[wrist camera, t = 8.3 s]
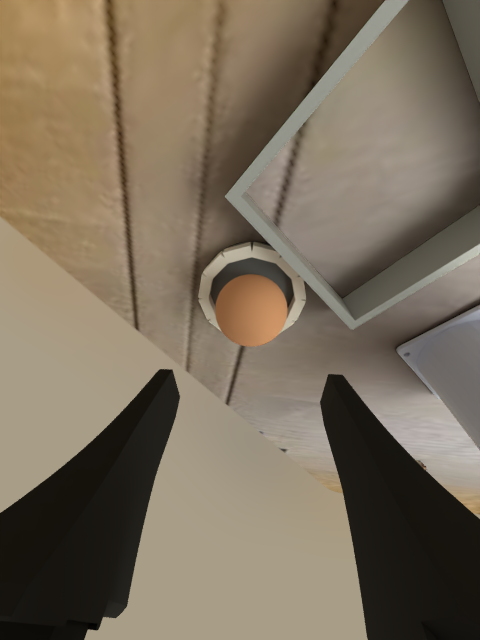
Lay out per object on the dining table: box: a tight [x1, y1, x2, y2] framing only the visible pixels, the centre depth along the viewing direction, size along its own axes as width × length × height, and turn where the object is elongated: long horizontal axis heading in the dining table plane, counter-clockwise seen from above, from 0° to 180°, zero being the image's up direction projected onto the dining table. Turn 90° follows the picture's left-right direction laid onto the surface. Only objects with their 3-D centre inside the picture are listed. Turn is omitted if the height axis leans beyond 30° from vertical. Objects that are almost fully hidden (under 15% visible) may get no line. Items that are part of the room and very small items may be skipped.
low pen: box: [225, 0, 480, 330], centre depth 13 cm, size 12×12×3 cm
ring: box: [198, 242, 306, 334], centre depth 18 cm, size 8×8×1 cm
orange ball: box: [215, 274, 287, 346], centre depth 16 cm, size 5×5×5 cm
